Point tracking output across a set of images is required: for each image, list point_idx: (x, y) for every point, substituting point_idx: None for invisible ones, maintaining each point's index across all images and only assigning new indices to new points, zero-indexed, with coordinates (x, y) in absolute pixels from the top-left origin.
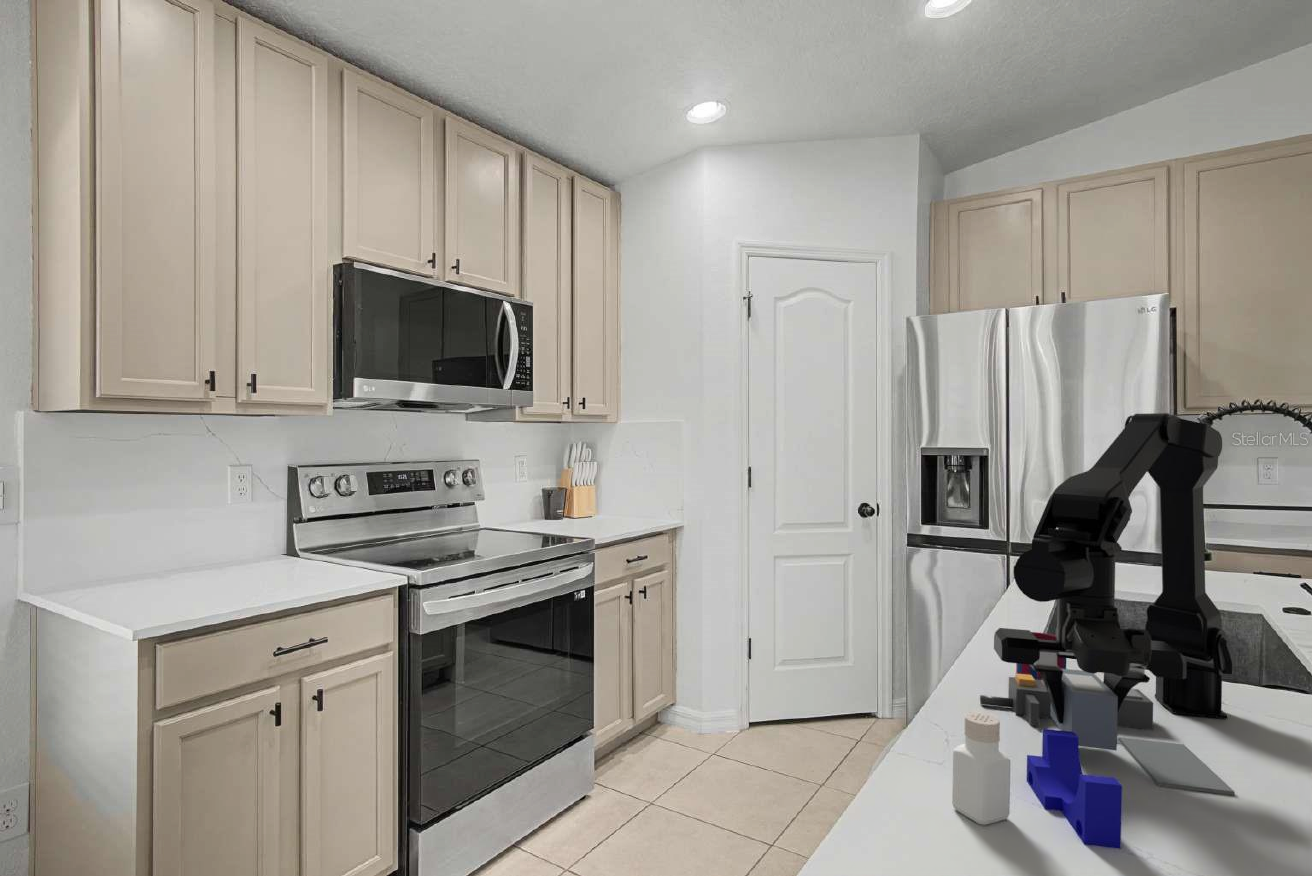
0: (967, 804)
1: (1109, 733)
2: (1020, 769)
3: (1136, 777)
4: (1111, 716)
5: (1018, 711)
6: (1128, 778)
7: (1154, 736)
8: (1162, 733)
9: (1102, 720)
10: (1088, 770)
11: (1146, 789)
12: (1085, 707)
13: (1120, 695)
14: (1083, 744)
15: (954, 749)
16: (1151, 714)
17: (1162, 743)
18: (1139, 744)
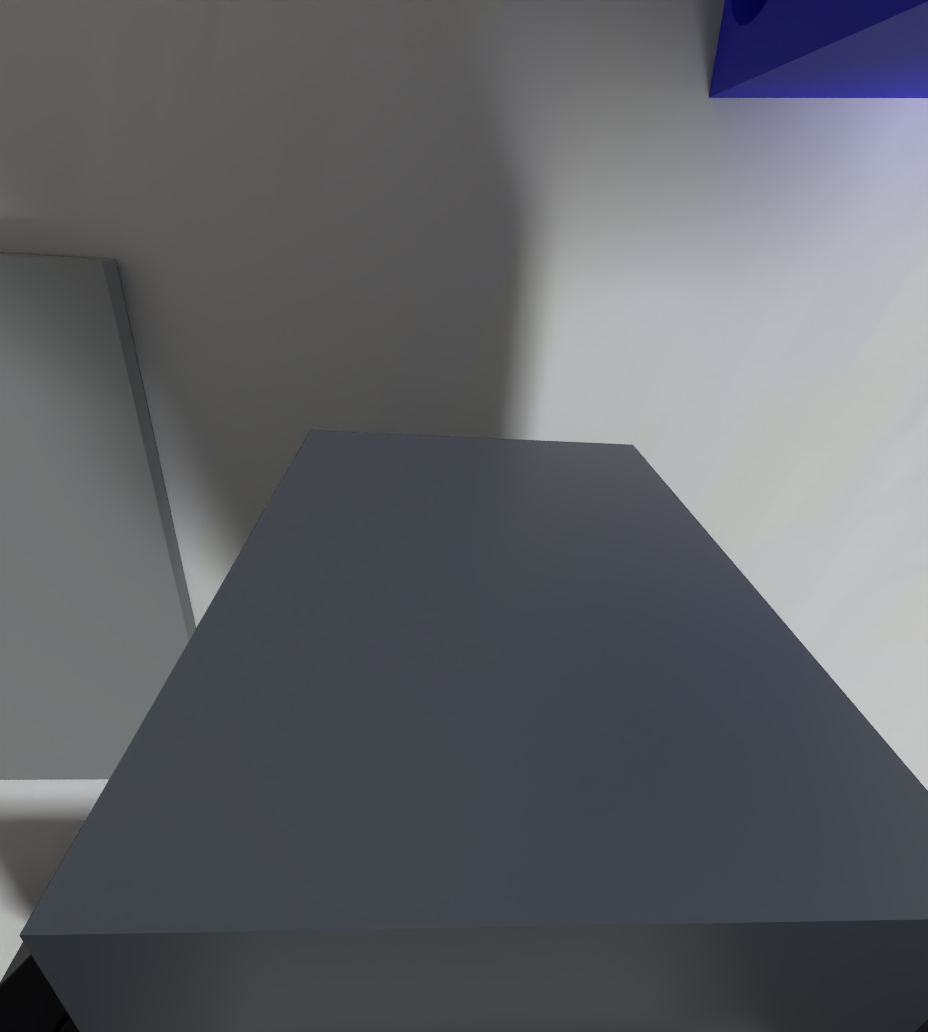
0: None
1: (345, 494)
2: (922, 292)
3: (227, 361)
4: (290, 597)
5: None
6: (280, 332)
7: (59, 829)
8: (23, 858)
9: (408, 558)
10: (491, 389)
11: (201, 173)
12: (644, 666)
13: (34, 1022)
14: (553, 443)
15: None
16: (23, 953)
17: (24, 764)
18: (134, 731)
